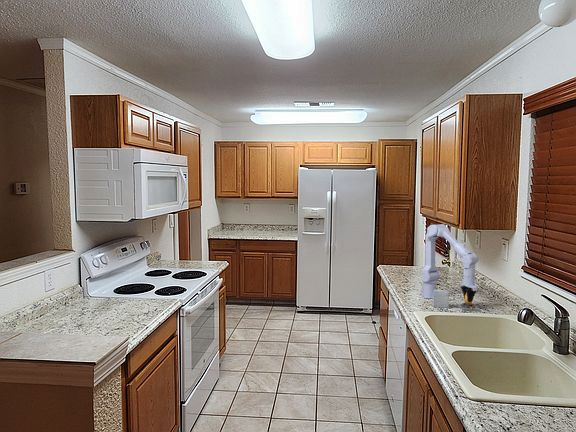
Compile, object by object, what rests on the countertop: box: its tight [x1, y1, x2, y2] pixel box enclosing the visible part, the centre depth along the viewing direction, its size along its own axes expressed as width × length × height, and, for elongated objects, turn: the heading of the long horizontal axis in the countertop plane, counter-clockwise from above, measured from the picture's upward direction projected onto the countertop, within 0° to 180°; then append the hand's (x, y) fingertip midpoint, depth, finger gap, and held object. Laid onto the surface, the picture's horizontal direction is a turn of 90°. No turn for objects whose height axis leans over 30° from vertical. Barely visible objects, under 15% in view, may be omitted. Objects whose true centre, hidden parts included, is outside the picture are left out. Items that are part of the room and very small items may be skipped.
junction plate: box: [455, 302, 482, 312], centre depth 211 cm, size 10×9×2 cm
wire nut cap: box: [464, 293, 473, 305], centre depth 211 cm, size 3×3×6 cm
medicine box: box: [432, 289, 450, 309], centre depth 213 cm, size 8×4×9 cm, turn 74°
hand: (468, 300), depth 211 cm, fingers closed on wire nut cap, 3 cm apart
